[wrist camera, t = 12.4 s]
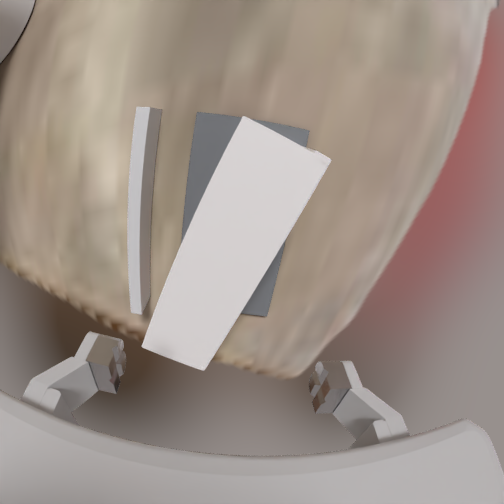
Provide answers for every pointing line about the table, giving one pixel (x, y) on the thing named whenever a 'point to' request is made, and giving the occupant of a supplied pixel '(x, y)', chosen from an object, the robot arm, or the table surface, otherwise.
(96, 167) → the table surface
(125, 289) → the table surface
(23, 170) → the table surface
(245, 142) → the white boxy piece
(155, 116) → the low wall
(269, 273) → the mat
